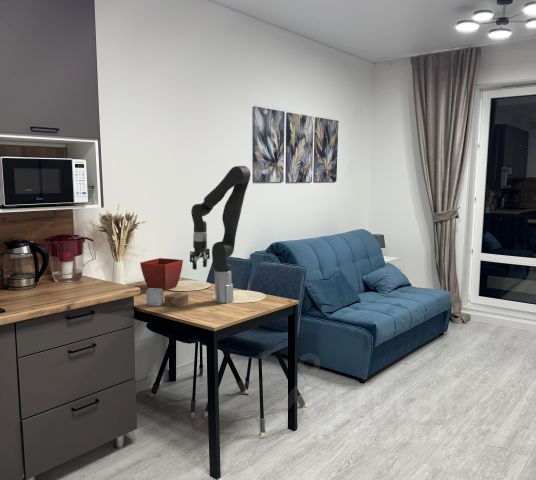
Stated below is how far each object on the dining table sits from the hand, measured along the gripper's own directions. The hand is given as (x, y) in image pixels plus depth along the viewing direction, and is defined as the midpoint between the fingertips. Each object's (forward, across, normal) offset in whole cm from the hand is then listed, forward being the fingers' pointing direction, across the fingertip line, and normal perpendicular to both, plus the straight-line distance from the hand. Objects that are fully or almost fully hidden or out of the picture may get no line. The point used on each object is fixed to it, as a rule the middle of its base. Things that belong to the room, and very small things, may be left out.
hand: (199, 268), depth 273 cm
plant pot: (+20, +8, +37) cm, 42 cm away
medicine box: (+18, -23, +12) cm, 31 cm away
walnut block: (+18, -15, +3) cm, 24 cm away
